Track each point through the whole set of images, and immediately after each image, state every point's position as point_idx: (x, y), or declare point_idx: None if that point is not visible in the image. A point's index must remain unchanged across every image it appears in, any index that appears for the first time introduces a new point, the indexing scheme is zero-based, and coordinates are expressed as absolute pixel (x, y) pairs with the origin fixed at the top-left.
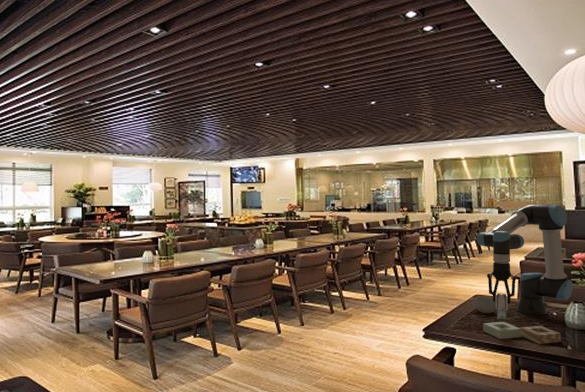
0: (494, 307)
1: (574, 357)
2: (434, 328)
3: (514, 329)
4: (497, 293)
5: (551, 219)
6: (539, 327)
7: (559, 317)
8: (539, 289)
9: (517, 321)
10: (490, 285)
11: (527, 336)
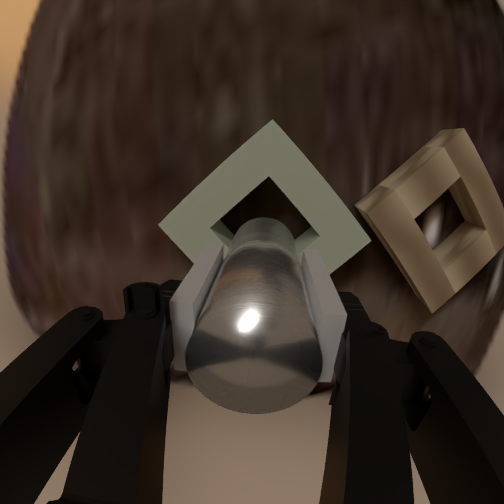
0: None
1: (470, 370)
2: (19, 275)
3: (334, 269)
4: (187, 350)
5: None
6: (459, 165)
7: None
8: None
9: None
10: (50, 456)
11: (387, 248)
